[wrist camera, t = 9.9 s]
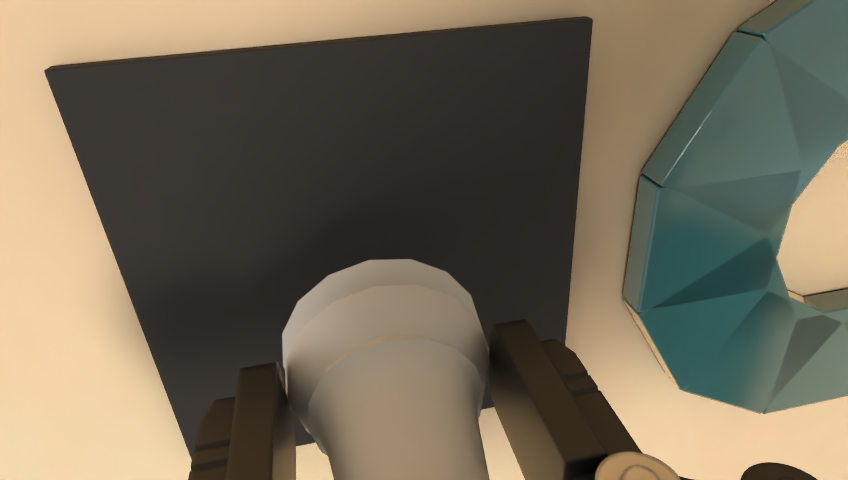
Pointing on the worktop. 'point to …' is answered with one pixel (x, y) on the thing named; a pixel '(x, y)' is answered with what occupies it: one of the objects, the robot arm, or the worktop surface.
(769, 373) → the teal faceted ring
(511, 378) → the robot arm
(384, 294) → the rook chess piece
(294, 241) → the coaster
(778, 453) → the worktop surface
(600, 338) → the worktop surface
